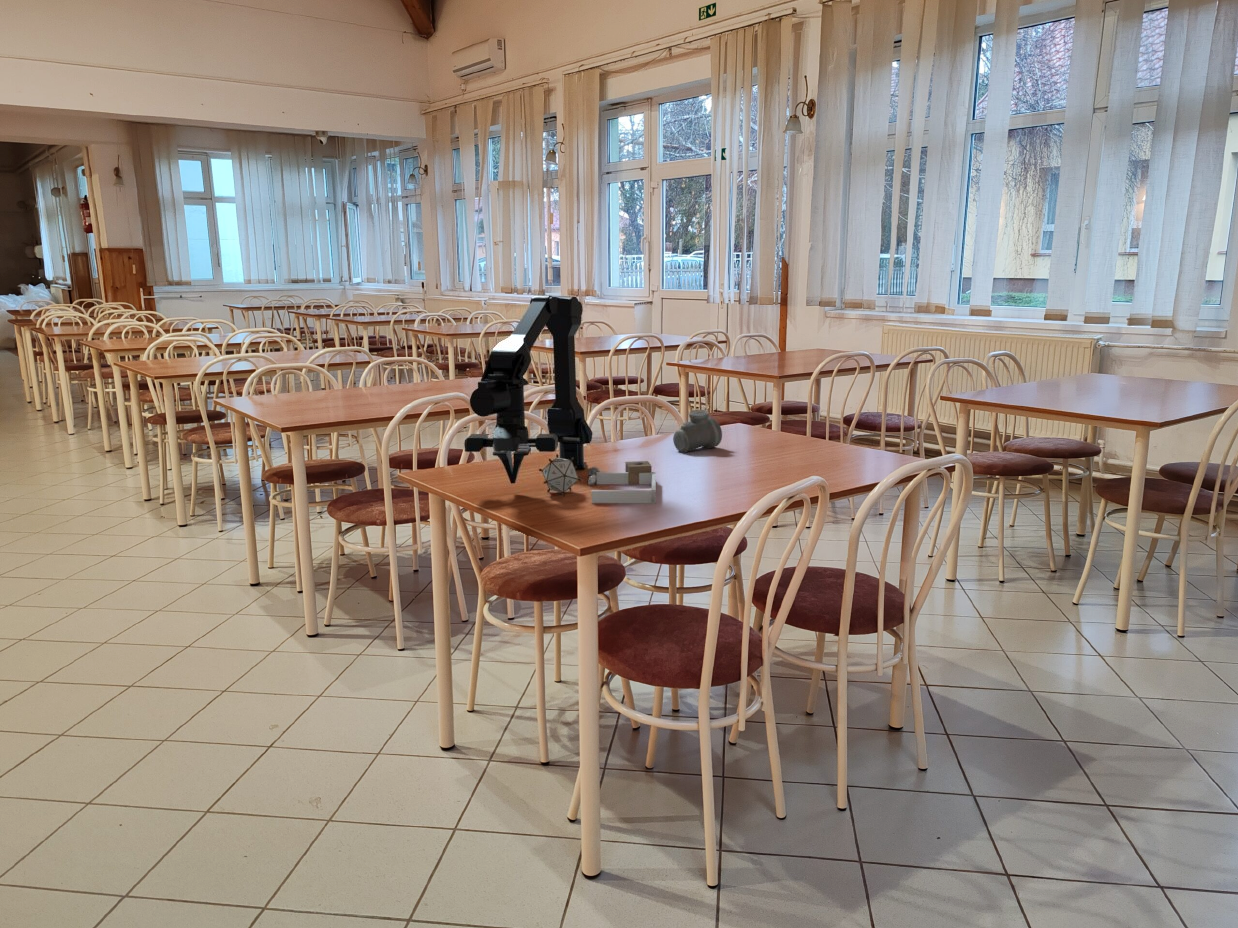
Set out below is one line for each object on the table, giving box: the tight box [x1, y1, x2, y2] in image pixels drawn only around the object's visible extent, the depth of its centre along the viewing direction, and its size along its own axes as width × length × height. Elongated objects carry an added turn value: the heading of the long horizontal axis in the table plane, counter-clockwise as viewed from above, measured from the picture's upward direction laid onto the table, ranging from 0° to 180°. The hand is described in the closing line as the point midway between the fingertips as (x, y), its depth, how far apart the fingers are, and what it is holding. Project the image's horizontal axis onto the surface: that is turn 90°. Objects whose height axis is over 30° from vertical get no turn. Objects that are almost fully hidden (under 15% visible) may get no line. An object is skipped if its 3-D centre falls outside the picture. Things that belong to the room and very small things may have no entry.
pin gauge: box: [587, 466, 601, 487], centre depth 191 cm, size 8×2×2 cm, turn 178°
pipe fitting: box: [672, 409, 723, 453], centre depth 224 cm, size 12×8×10 cm
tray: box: [590, 471, 657, 504], centre depth 181 cm, size 17×13×2 cm
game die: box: [538, 453, 583, 497], centre depth 181 cm, size 9×8×10 cm
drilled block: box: [624, 460, 653, 486], centre depth 191 cm, size 5×5×4 cm
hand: (513, 483), depth 182 cm, fingers closed
